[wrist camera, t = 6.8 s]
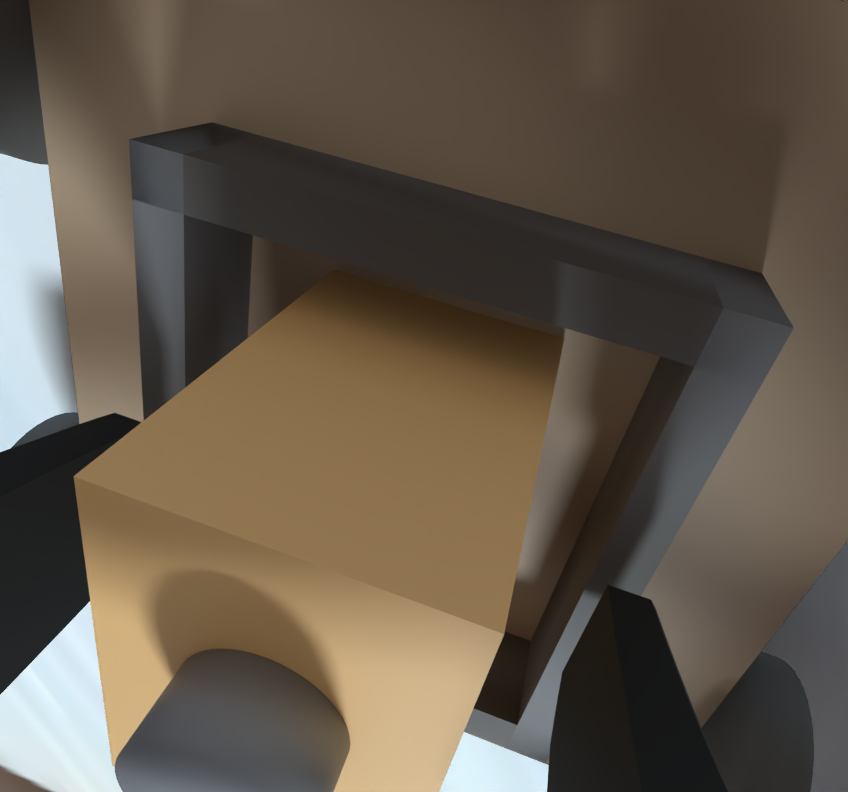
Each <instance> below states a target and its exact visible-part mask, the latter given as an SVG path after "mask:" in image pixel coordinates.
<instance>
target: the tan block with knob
mask: <svg viewBox="0 0 848 792" xmlns="http://www.w3.org/2000/svg"><path fill="white" fill-rule="evenodd" d="M563 343H564V338H560V337H557V336H554V335H550V334H547V333H544V332H540V331H537V330H534V329H530V328H527V327H523V326H520V325H517V324H513V323H510V322H507V321H503V320H500V319H497V318H493V317H490V316H487V315H483V314H480V313H477V312H473V311H470V310H467V309H463V308H460V307H457V306H453V305H450V304H447V303H443V302H440V301H437V300H433V299H430V298H427V297H423V296H420V295H417V294H413V293H410V292H407V291H403V290H400V289H397V288H393V287H390V286H387V285H383V284H380V283H377V282H373V281H370V280H367V279H363V278H360V277H357V276H353V275H350V274H347V273H343V272H340V271H337V270H333V271H332V272H331V273H329V274H328V275H327V276H326V277H324V278H323V279H322V280H320V281H319V282H318V283H317V284H315V285H314V286H313V287H312V288H310V289H309V290H308V291H307V292H305V293H304V294H303V295H302V296H300V297H299V298H298V299H297V300H295V301H294V302H293V303H291V304H290V305H289V306H288V307H286V308H285V309H284V310H283V311H281V312H280V313H279V314H278V315H276V316H275V317H274V318H273V319H271V320H270V321H269V322H268V323H266V324H265V325H264V326H262V327H261V328H260V329H259V330H257V331H256V332H255V333H254V334H252V335H251V336H250V337H249V338H247V339H246V340H245V341H244V342H242V343H241V344H240V345H239V346H237V347H236V348H235V349H234V350H232V351H231V352H230V353H228V354H227V355H226V356H225V357H223V358H222V359H221V360H220V361H218V362H217V363H216V364H215V365H213V366H212V367H211V368H210V369H208V370H207V371H206V372H205V373H203V374H202V375H201V376H199V377H198V378H197V379H196V380H194V381H193V382H192V383H191V384H189V385H188V386H187V387H186V388H184V389H183V390H182V391H181V392H179V393H178V394H177V395H176V396H174V397H173V398H172V399H170V400H169V401H168V402H167V403H165V404H164V405H163V406H162V407H160V408H159V409H158V410H157V411H155V412H154V413H153V414H152V415H150V416H149V417H148V418H147V419H145V420H144V421H143V422H142V423H140V424H139V425H138V426H136V427H135V428H134V429H133V430H131V431H130V432H129V433H128V434H126V435H125V436H124V437H123V438H121V439H120V440H119V441H118V442H116V443H115V444H114V445H113V446H111V447H110V448H109V449H107V450H106V451H105V452H104V453H102V454H101V455H100V456H99V457H97V458H96V459H95V460H94V461H92V462H91V463H90V464H89V465H87V466H86V467H85V468H84V469H82V470H81V471H80V472H78V473H77V474H76V475H75V476H74V483H75V490H76V498H77V505H78V513H79V520H80V528H81V535H82V543H83V550H84V557H85V565H86V572H87V580H88V587H89V595H90V602H91V610H92V617H93V625H94V632H95V640H96V647H97V654H98V662H99V669H100V677H101V684H102V692H103V699H104V707H105V714H106V722H107V729H108V737H109V744H110V752H111V759H112V765H113V766H115V773H116V778H117V780H118V783H119V785H120V787H121V789H122V791H123V792H439V790H440V788H441V785H442V783H443V780H444V778H445V776H446V773H447V771H448V768H449V766H450V764H451V761H452V759H453V756H454V754H455V752H456V749H457V747H458V744H459V742H460V739H461V737H462V735H463V732H464V730H465V727H466V725H467V723H468V720H469V718H470V715H471V713H472V711H473V708H474V706H475V703H476V701H477V699H478V696H479V694H480V691H481V689H482V686H483V684H484V682H485V679H486V677H487V674H488V672H489V670H490V667H491V665H492V662H493V660H494V658H495V655H496V653H497V650H498V648H499V645H500V643H501V641H502V638H503V636H504V633H505V628H506V623H507V618H508V613H509V608H510V603H511V598H512V593H513V588H514V584H515V579H516V574H517V569H518V564H519V559H520V554H521V549H522V544H523V539H524V534H525V530H526V525H527V520H528V515H529V510H530V505H531V500H532V495H533V490H534V485H535V480H536V476H537V471H538V466H539V461H540V456H541V451H542V446H543V441H544V436H545V431H546V426H547V421H548V417H549V412H550V407H551V402H552V397H553V392H554V387H555V382H556V377H557V372H558V367H559V363H560V358H561V353H562V348H563Z"/></svg>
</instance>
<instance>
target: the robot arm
mask: <svg viewBox="0 0 848 792" xmlns="http://www.w3.org/2000/svg"><path fill="white" fill-rule="evenodd" d="M140 423H142V422H140V421H137V420H134V419H131V418H129V417H126V416H123V415H120V414H117V413H112V414H109V415H106V416H102V417H99V418H96V419H93V420H90V421H87V422H84V423H81V424H78V425H75V426H72V427H70V428H67V429H64V430H61V431H58V432H56V433H53V434H50V435H47V436H45V437H42V438H39V439H36V440H33V441H31V442H28V443H25V444H22V445H20V446H17V447H14V448H11V449H8V450H6V451H3V452H0V694H1V693H2V692H3V691H4V690H5V689H6V688H7V687H8V686H9V685H10V684H11V683H12V682H13V681H14V680H15V679H16V678H17V677H18V676H19V674H20V673H21V672H22V671H23V670H24V669H25V668H26V667H27V666H28V665H29V664H30V663H31V662H32V661H33V660H34V659H35V658H36V657H37V656H38V655H39V654H40V653H41V652H42V650H43V649H44V648H45V647H46V646H47V645H48V644H49V643H50V642H51V641H52V640H53V639H54V638H55V637H56V636H57V635H58V634H59V633H60V632H61V631H62V630H63V629H64V628H65V627H66V625H67V624H68V623H69V622H70V621H71V620H72V619H73V618H74V617H75V616H76V615H77V614H78V613H79V612H80V611H81V610H82V609H83V608H84V607H85V605H86V604H87V603H88V602H89V601H90V595H89V587H88V580H87V572H86V565H85V557H84V550H83V543H82V535H81V528H80V520H79V513H78V505H77V498H76V490H75V483H74V476H75V475H76V474H77V473H78V472H80V471H81V470H82V469H84V468H85V467H86V466H87V465H89V464H90V463H91V462H92V461H94V460H95V459H96V458H97V457H99V456H100V455H101V454H102V453H104V452H105V451H106V450H107V449H109V448H110V447H111V446H113V445H114V444H115V443H116V442H118V441H119V440H120V439H121V438H123V437H124V436H125V435H126V434H128V433H129V432H130V431H131V430H133V429H134V428H135V427H136V426H138V425H139V424H140ZM547 792H729V790H728V788H727V786H726V783H725V781H724V779H723V777H722V774H721V772H720V770H719V767H718V765H717V763H716V760H715V758H714V756H713V753H712V751H711V749H710V746H709V744H708V742H707V739H706V737H705V735H704V732H703V730H702V728H701V726H700V723H699V721H698V718H697V716H696V713H695V711H694V708H693V706H692V703H691V701H690V698H689V696H688V693H687V691H686V688H685V686H684V683H683V681H682V678H681V675H680V673H679V670H678V668H677V665H676V662H675V660H674V657H673V654H672V652H671V649H670V646H669V644H668V641H667V638H666V635H665V633H664V630H663V627H662V625H661V622H660V619H659V616H658V614H657V611H656V608H655V606H654V604H653V602H652V600H651V599H648V598H645V597H642V596H639V595H636V594H633V593H630V592H628V591H625V590H622V589H619V588H616V587H613V586H610V585H607V587H606V589H605V591H604V593H603V595H602V597H601V599H600V600H599V602H598V604H597V606H596V608H595V610H594V612H593V614H592V616H591V618H590V620H589V622H588V624H587V625H586V627H585V629H584V631H583V633H582V635H581V637H580V639H579V641H578V643H577V645H576V647H575V649H574V650H573V652H572V654H571V656H570V658H569V660H568V662H567V664H566V666H565V668H564V670H563V672H562V676H561V682H560V687H559V693H558V699H557V705H556V710H555V717H554V723H553V729H552V736H551V742H550V755H549V771H548V788H547Z"/></svg>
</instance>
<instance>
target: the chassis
mask: <svg viewBox="0 0 848 792" xmlns="http://www.w3.org/2000/svg"><path fill="white" fill-rule="evenodd" d="M0 153H1V154H5V155H8V156H12V157H15V158H18V159H22V160H25V161H29V162H33V163H38V164H48V166H49V174H50V182H51V191H52V199H53V207H54V216H55V224H56V232H57V241H58V249H59V257H60V266H61V274H62V282H63V291H64V299H65V307H66V316H67V324H68V332H69V341H70V349H71V357H72V366H73V374H74V382H75V391H76V399H77V407H78V413H73V412H72V413H64V414H60V415H57V416H54V417H52V418H49V419H47V420H45V421H44V422H42V423H40V424H38V425H37V426H35V427H34V428H33V429H31V430H30V431H29V432H27V433H26V434H25V435H24V436H23V437H22V438H21V439H20V440H18V442H17V443H16V444H15V445H14V446H13V447H12V448H14V447H17V446H20V445H22V444H25V443H28V442H31V441H33V440H36V439H39V438H42V437H45V436H47V435H50V434H53V433H56V432H58V431H61V430H64V429H67V428H70V427H72V426H75V425H78V424H81V423H84V422H87V421H90V420H93V419H96V418H99V417H102V416H106V415H109V414H112V413H117V414H120V415H123V416H126V417H129V418H131V419H134V420H137V421H140V422H143V421H144V420H145V419H147V418H148V417H149V416H150V415H152V414H153V413H154V412H155V411H157V410H158V409H159V408H160V407H162V406H163V405H164V404H165V403H167V402H168V401H169V400H170V399H172V398H173V397H174V396H176V395H177V394H178V393H179V392H181V391H182V390H183V389H184V388H186V387H187V386H188V385H189V384H191V383H192V382H193V381H194V380H196V379H197V378H198V377H199V376H201V375H202V374H203V373H205V372H206V371H207V370H208V369H210V368H211V367H212V366H213V365H215V364H216V363H217V362H218V361H220V360H221V359H222V358H223V357H225V356H226V355H227V354H228V353H230V352H231V351H232V350H234V349H235V348H236V347H237V346H239V345H240V344H241V343H242V342H244V341H245V340H246V339H247V338H249V337H250V336H251V335H252V334H254V333H255V332H256V331H257V330H259V329H260V328H261V327H262V326H264V325H265V324H266V323H268V322H269V321H270V320H271V319H273V318H274V317H275V316H276V315H278V314H279V313H280V312H281V311H283V310H284V309H285V308H286V307H288V306H289V305H290V304H291V303H293V302H294V301H295V300H297V299H298V298H299V297H300V296H302V295H303V294H304V293H305V292H307V291H308V290H309V289H310V288H312V287H313V286H314V285H315V284H317V283H318V282H319V281H320V280H322V279H323V278H324V277H326V276H327V275H328V274H329V273H331V272H332V271H333V270H337V271H340V272H343V273H347V274H350V275H353V276H357V277H360V278H363V279H367V280H370V281H373V282H377V283H380V284H383V285H387V286H390V287H393V288H397V289H400V290H403V291H407V292H410V293H413V294H417V295H420V296H423V297H427V298H430V299H433V300H437V301H440V302H443V303H447V304H450V305H453V306H457V307H460V308H463V309H467V310H470V311H473V312H477V313H480V314H483V315H487V316H490V317H493V318H497V319H500V320H503V321H507V322H510V323H513V324H517V325H520V326H523V327H527V328H530V329H534V330H537V331H540V332H544V333H547V334H550V335H554V336H557V337H560V338H564V343H563V348H562V353H561V358H560V363H559V367H558V372H557V377H556V382H555V387H554V392H553V397H552V402H551V407H550V412H549V417H548V421H547V426H546V431H545V436H544V441H543V446H542V451H541V456H540V461H539V466H538V471H537V476H536V480H535V485H534V490H533V495H532V500H531V505H530V510H529V515H528V520H527V525H526V530H525V534H524V539H523V544H522V549H521V554H520V559H519V564H518V569H517V574H516V579H515V584H514V588H513V593H512V598H511V603H510V608H509V613H508V618H507V623H506V628H505V633H504V636H503V638H502V641H501V643H500V645H499V648H498V650H497V653H496V655H495V658H494V660H493V662H492V665H491V667H490V670H489V672H488V674H487V677H486V679H485V682H484V684H483V686H482V689H481V691H480V694H479V696H478V699H477V701H476V703H475V706H474V708H473V711H472V713H471V715H470V718H469V720H468V723H467V725H466V727H465V730H464V732H466V733H468V734H471V735H474V736H476V737H479V738H481V739H484V740H486V741H489V742H491V743H494V744H497V745H499V746H502V747H504V748H507V749H509V750H512V751H514V752H517V753H520V754H522V755H525V756H527V757H530V758H532V759H535V760H537V761H540V762H543V763H545V764H548V765H549V755H550V742H551V736H552V729H553V723H554V717H555V710H556V705H557V699H558V693H559V687H560V682H561V676H562V672H563V670H564V668H565V666H566V664H567V662H568V660H569V658H570V656H571V654H572V652H573V650H574V649H575V647H576V645H577V643H578V641H579V639H580V637H581V635H582V633H583V631H584V629H585V627H586V625H587V624H588V622H589V620H590V618H591V616H592V614H593V612H594V610H595V608H596V606H597V604H598V602H599V600H600V599H601V597H602V595H603V593H604V591H605V589H606V587H607V585H610V586H613V587H616V588H619V589H622V590H625V591H628V592H630V593H633V594H636V595H639V596H642V597H645V598H648V599H651V600H652V602H653V604H654V606H655V608H656V611H657V614H658V616H659V619H660V622H661V625H662V627H663V630H664V633H665V635H666V638H667V641H668V644H669V646H670V649H671V652H672V654H673V657H674V660H675V662H676V665H677V668H678V670H679V673H680V675H681V678H682V681H683V683H684V686H685V688H686V691H687V693H688V696H689V698H690V701H691V703H692V706H693V708H694V711H695V713H696V716H697V718H698V721H699V723H700V726H701V728H702V730H703V732H704V735H705V737H706V739H707V742H708V744H709V746H710V749H711V751H712V753H713V756H714V758H715V760H716V763H717V765H718V767H719V770H720V772H721V774H722V777H723V779H724V781H725V783H726V786H727V788H728V790H729V792H810V789H811V782H812V774H813V761H814V742H813V728H812V721H811V714H810V709H809V705H808V701H807V698H806V695H805V691H804V689H803V686H802V684H801V682H800V680H799V678H798V676H797V675H796V673H795V672H794V670H793V669H792V668H791V667H790V666H789V665H788V664H787V663H786V662H784V661H783V660H781V659H779V658H777V657H774V656H771V655H768V654H766V653H763V652H761V651H762V650H763V648H764V647H765V646H766V644H767V643H768V642H769V641H770V639H771V638H772V637H773V635H774V634H775V633H776V632H777V630H778V629H779V628H780V626H781V625H782V624H783V623H784V621H785V620H786V619H787V617H788V616H789V615H790V614H791V612H792V611H793V610H794V608H795V607H796V606H797V605H798V603H799V602H800V601H801V599H802V598H803V597H804V596H805V594H806V593H807V592H808V590H809V589H810V588H811V587H812V585H813V584H814V583H815V581H816V580H817V579H818V578H819V576H820V575H821V574H822V572H823V571H824V570H825V569H826V567H827V566H828V565H829V564H830V562H831V561H832V560H833V558H834V557H835V556H836V555H837V553H838V552H839V551H840V549H841V548H842V547H843V546H844V544H845V543H846V542H847V540H848V2H846V1H841V0H0Z"/></svg>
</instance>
